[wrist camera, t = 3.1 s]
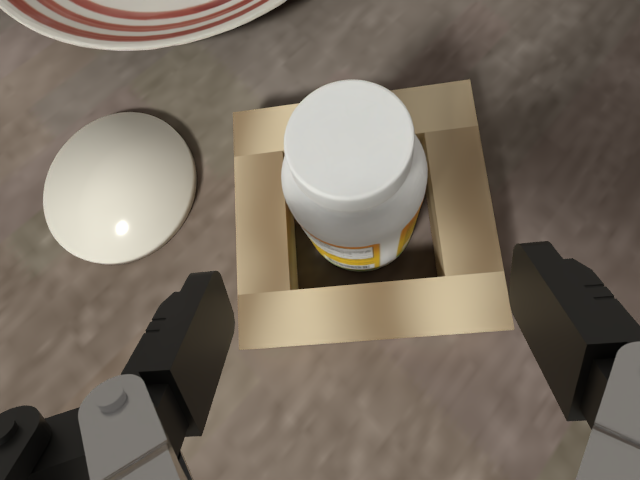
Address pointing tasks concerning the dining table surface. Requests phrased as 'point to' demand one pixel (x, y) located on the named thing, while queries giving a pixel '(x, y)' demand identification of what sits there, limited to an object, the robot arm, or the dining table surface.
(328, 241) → the supplement bottle
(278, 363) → the dining table surface
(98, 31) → the dinner plate
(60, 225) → the pale ceramic coaster
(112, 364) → the dining table surface
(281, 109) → the birch pocket block
